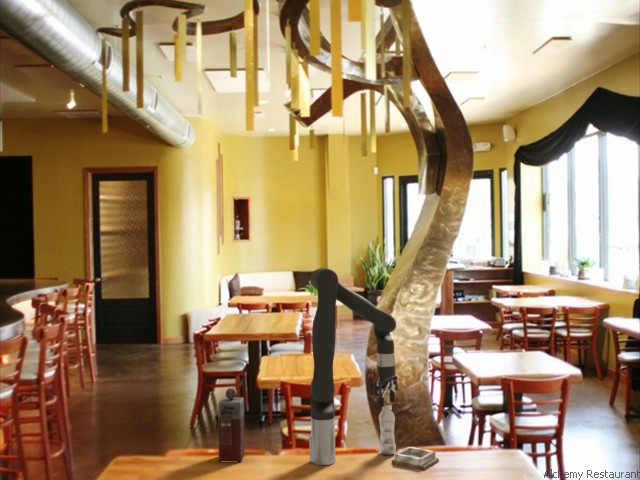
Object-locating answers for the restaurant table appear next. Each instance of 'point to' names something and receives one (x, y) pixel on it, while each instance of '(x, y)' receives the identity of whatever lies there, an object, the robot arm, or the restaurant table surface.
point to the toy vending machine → (231, 427)
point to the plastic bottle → (387, 430)
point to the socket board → (415, 458)
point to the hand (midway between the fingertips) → (386, 404)
